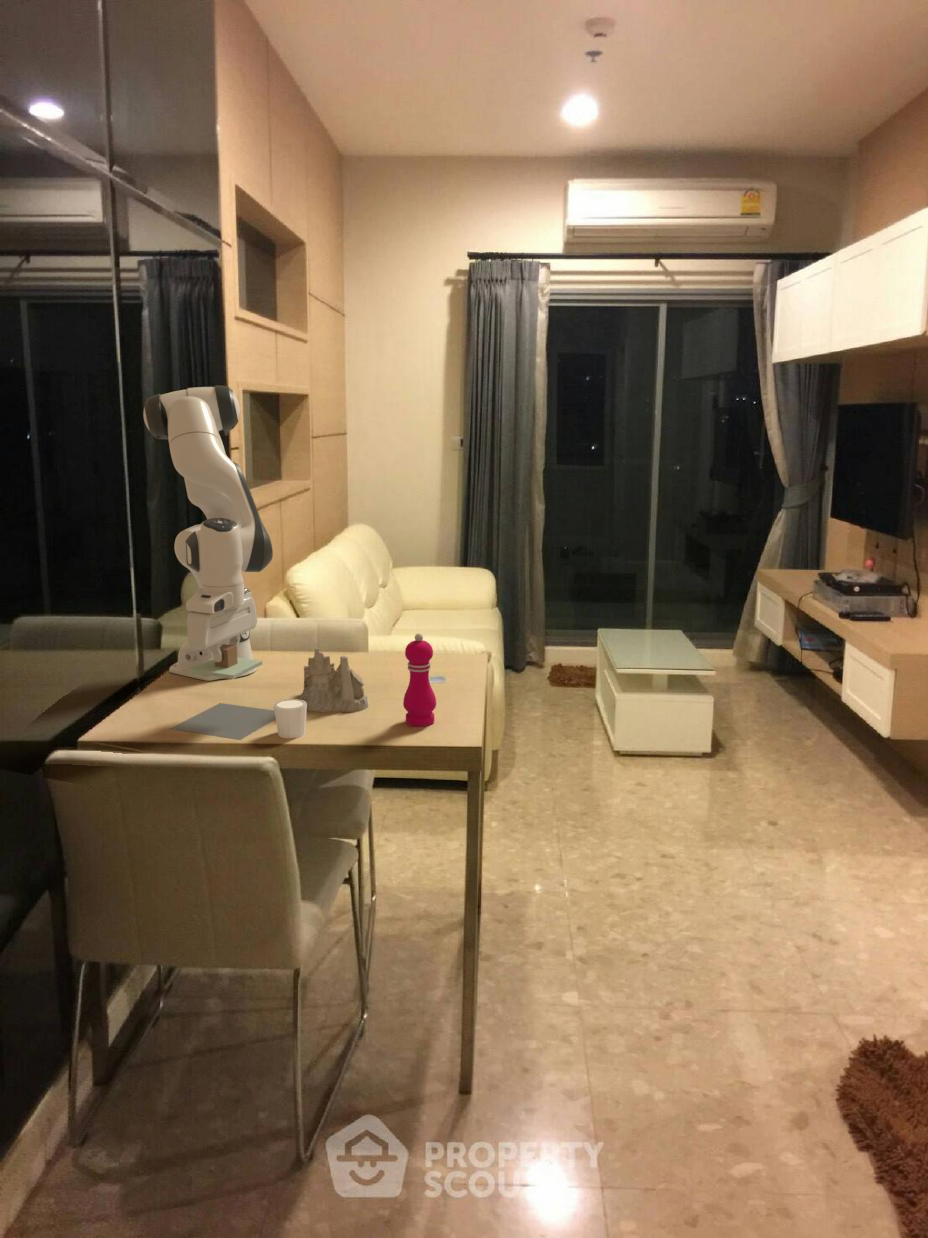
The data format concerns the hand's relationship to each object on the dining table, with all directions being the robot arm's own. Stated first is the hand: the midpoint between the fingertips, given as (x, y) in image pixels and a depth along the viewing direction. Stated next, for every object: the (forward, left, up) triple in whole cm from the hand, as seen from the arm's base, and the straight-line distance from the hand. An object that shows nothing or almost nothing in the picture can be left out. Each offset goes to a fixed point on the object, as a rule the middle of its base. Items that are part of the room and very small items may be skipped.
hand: (225, 658), depth 199 cm
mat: (0, 0, -15) cm, 14 cm away
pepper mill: (+39, +15, -15) cm, 44 cm away
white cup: (+17, -2, -15) cm, 23 cm away
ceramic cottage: (+15, +20, -15) cm, 29 cm away
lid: (0, 0, -2) cm, 2 cm away
